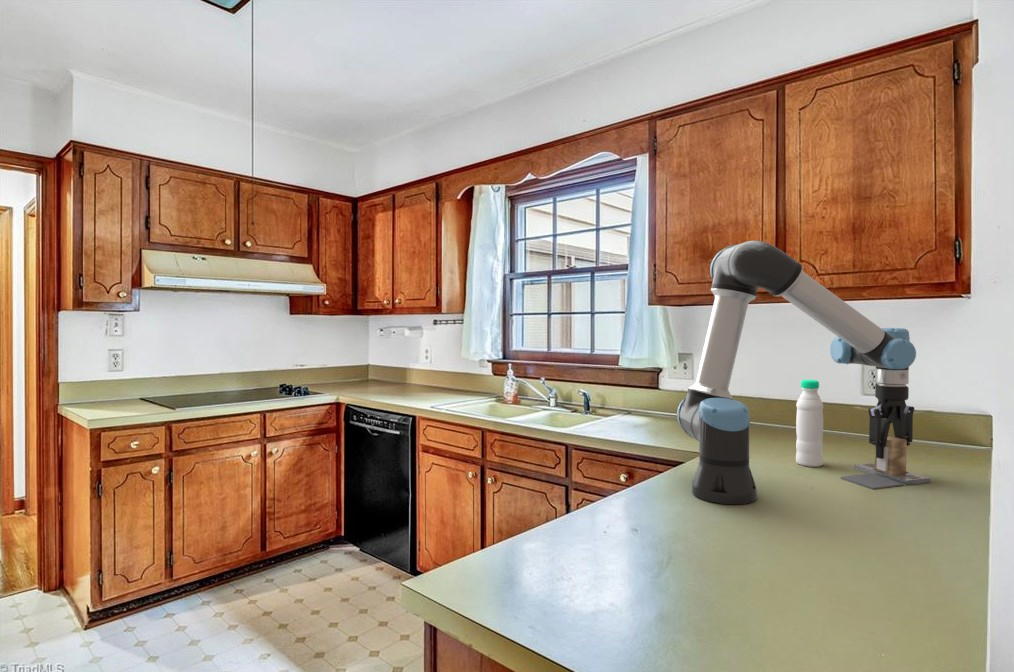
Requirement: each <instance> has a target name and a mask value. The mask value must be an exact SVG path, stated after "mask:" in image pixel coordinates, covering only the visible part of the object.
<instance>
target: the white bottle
mask: <svg viewBox="0 0 1014 672" xmlns="http://www.w3.org/2000/svg"><path fill="white" fill-rule="evenodd" d="M819 388H820V381H818V380H816V379H802V380H801V381H800V389H801V390H802V392H801V394H800V395H799V398H797V401H796V402H795V403H796V404H795V405H796V418H795V420H796V422H795V425H796V427H795V428H796V429H795V431H796V441H795V447H796V452H795V453H796V454H795V462H796V463H797V464H798V465H800V466H804V467H810V468H814V467H815V468H818V467H821V466H822V465H823V464H824V456H823V450H824V449H823V448H824V443H823V438H824V437H823V436H824V414H823V410H824V404H823V401H822V399H821V397H820V395H819V393H818V391H819Z"/></svg>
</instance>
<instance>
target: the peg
mask: <svg viewBox="0 0 1014 672" xmlns="http://www.w3.org/2000/svg"><path fill="white" fill-rule="evenodd" d="M874 447H875V448H874V449H875V450H874V451H875V452H874V453H875V455H874V463H875V470H877V471H880V472H883V473H887V474H890V475H898V474H906V471H907V449H908V448H907V447H908V446H907V440H905V439H900V438H896V437H895V436H891V435H888V437H887V441H886V446H885V447H888V471H882V470H879V469H877V458H876V446H875V445H874Z"/></svg>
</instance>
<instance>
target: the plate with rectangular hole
mask: <svg viewBox="0 0 1014 672" xmlns="http://www.w3.org/2000/svg"><path fill="white" fill-rule="evenodd" d="M853 470H857V471H860V472H863V473H866V474H873V475H876V476H879V477H882V478H886V479H889V480H892V481H895V482H899V483H902V484H904V486H910V485H911V486H912V485H922V484H928V483H931V479H932V478H931V477H930V476H929V477H928V476H926V475H923V474H922V475H921V474H918V473H915V472H912V471H908V470H906V474H898V475H890V474H887V473H883V472H880V471H877V470H875V462H867V463H859V464H854V465H853Z"/></svg>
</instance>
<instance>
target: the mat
mask: <svg viewBox="0 0 1014 672" xmlns="http://www.w3.org/2000/svg"><path fill="white" fill-rule="evenodd" d="M840 479H841V480H844V481H847V482H851V483H853V484H856V485H859V486H862V487H865V488H868V489H869V490H870V489H871V490H878V489H879V490H880V489H887V488H888V489H889V488H895V487H904V486H905V485H904V484H902V483H899V482H895V481H892V480H889V479H886V478H882V477H879V476H876V475H873V474H869V473H866V474H865V473H864V474H863V473H862V474H854V475H846V476H840Z"/></svg>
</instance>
